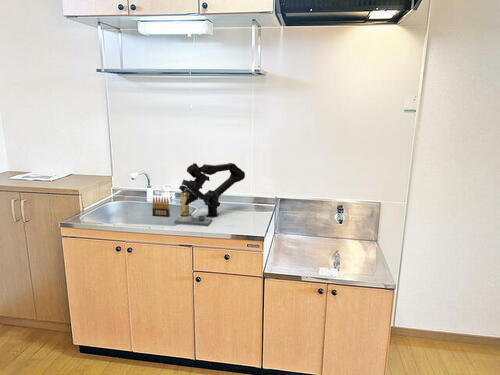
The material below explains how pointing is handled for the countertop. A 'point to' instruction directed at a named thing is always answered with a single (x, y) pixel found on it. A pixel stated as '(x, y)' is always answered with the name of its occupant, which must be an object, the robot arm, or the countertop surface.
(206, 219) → the grey flat piece
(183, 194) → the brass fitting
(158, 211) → the ammunition clip
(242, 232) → the countertop surface
